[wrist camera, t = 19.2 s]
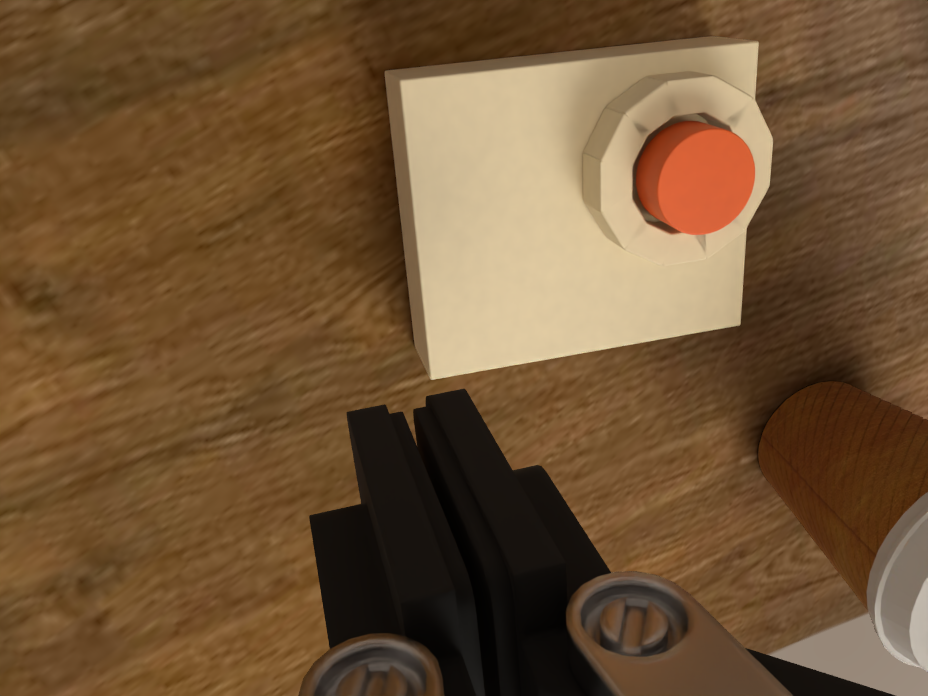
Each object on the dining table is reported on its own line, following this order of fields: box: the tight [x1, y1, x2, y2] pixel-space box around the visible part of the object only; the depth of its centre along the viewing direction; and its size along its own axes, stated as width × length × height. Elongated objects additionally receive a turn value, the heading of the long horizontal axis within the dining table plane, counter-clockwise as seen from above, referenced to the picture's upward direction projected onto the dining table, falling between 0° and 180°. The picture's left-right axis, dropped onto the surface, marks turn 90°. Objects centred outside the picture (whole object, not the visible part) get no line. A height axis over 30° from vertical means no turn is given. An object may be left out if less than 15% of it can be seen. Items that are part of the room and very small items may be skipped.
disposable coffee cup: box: [758, 381, 928, 672], centre depth 37 cm, size 10×10×12 cm
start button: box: [636, 121, 755, 235], centre depth 29 cm, size 4×4×2 cm
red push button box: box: [385, 36, 773, 380], centre depth 32 cm, size 11×13×5 cm
